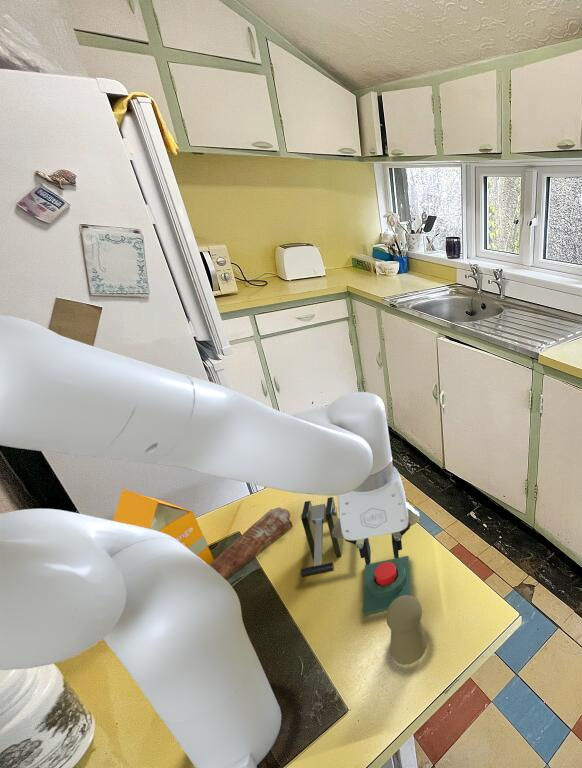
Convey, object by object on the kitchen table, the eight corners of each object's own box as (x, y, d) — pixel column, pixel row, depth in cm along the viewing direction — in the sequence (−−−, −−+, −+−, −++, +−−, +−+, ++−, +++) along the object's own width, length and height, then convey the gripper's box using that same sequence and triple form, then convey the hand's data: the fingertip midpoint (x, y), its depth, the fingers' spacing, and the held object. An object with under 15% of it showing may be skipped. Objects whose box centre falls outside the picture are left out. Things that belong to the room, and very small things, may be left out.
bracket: (352, 575, 78) (341, 526, 72) (300, 587, 75) (284, 536, 69) (355, 528, 88) (345, 482, 82) (309, 537, 86) (296, 490, 80)
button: (397, 583, 72) (396, 576, 71) (375, 588, 71) (374, 581, 71) (396, 566, 75) (395, 559, 75) (375, 571, 74) (374, 564, 74)
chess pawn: (436, 649, 66) (432, 604, 61) (405, 680, 62) (398, 635, 57) (413, 625, 69) (407, 581, 64) (382, 653, 65) (373, 608, 60)
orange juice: (185, 554, 81) (147, 474, 72) (218, 567, 79) (183, 486, 70) (142, 587, 74) (94, 504, 65) (176, 603, 72) (131, 518, 63)
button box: (413, 609, 72) (410, 594, 70) (364, 621, 70) (361, 606, 68) (409, 563, 80) (407, 548, 78) (366, 572, 78) (363, 558, 76)
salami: (298, 530, 87) (292, 510, 85) (207, 606, 72) (197, 585, 69) (277, 520, 89) (270, 501, 87) (184, 592, 74) (173, 571, 71)
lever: (334, 572, 72) (331, 568, 70) (303, 579, 70) (299, 575, 69) (335, 507, 79) (332, 502, 77) (306, 512, 78) (303, 507, 76)
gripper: (304, 497, 57) (328, 585, 65) (425, 477, 62) (433, 561, 70) (311, 464, 64) (332, 548, 72) (421, 448, 68) (429, 529, 76)
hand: (382, 554), depth 71 cm, fingers open, 4 cm apart
